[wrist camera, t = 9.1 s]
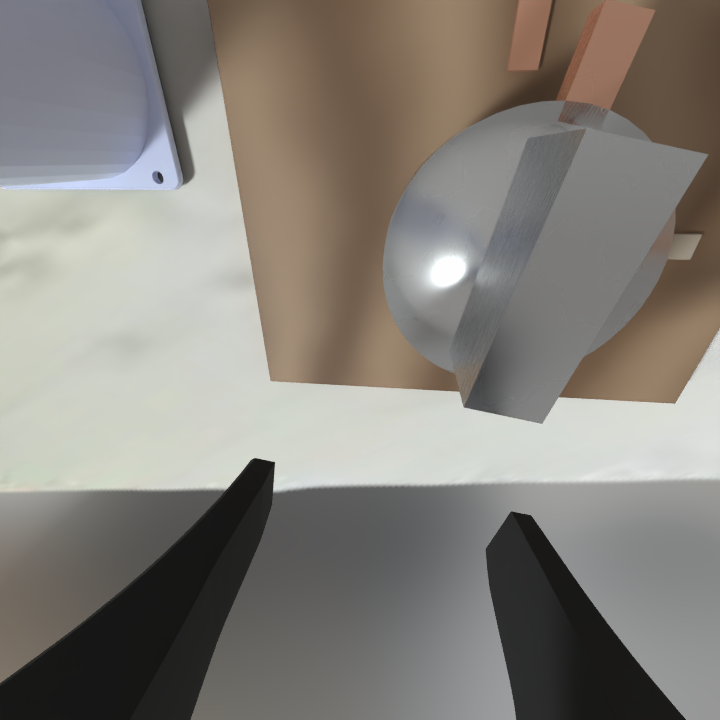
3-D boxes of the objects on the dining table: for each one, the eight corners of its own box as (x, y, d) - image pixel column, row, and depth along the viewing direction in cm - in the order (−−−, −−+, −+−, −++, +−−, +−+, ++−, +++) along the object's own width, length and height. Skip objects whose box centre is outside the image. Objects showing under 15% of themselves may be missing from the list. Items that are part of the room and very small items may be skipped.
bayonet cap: (559, 374, 15) (629, 468, 11) (365, 333, 15) (349, 409, 11) (742, 65, 10) (1062, -24, 5) (437, -2, 10) (472, -155, 5)
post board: (277, 370, 21) (259, 399, 18) (221, 3, 13) (175, -36, 10) (660, 390, 19) (700, 426, 16) (888, -29, 11) (1043, -88, 8)
